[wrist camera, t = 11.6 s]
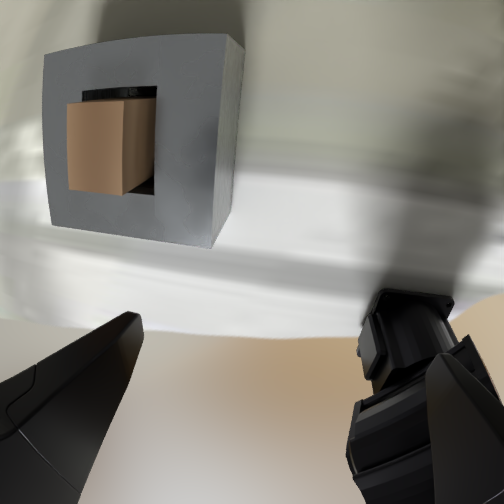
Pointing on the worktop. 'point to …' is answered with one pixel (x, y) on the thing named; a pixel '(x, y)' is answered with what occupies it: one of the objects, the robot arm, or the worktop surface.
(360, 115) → the worktop surface
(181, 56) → the grey square socket block
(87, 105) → the tan rectangular block
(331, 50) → the worktop surface
